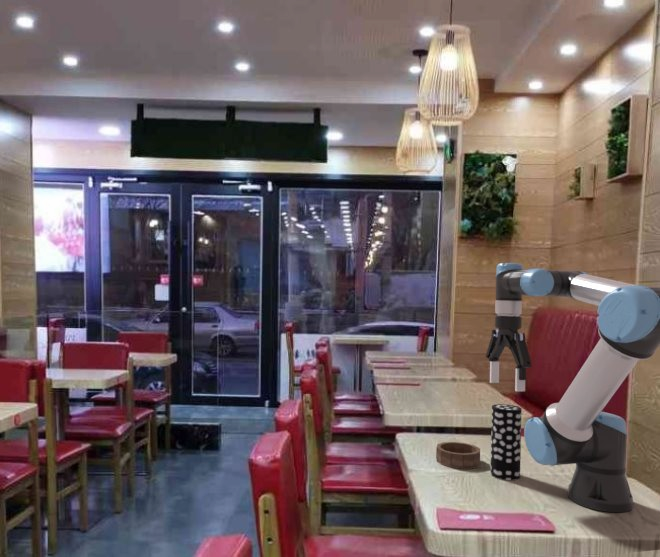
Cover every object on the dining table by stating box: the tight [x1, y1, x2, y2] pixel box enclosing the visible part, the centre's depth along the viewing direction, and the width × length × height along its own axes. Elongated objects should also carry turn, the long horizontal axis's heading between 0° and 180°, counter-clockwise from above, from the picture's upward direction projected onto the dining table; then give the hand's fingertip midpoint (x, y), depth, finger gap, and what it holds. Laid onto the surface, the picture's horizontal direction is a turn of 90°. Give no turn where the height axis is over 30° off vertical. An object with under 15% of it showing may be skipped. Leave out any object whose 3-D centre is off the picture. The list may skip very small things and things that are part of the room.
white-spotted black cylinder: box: [490, 403, 523, 481], centre depth 159 cm, size 8×8×20 cm
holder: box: [435, 441, 481, 470], centre depth 170 cm, size 13×13×4 cm
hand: (506, 386), depth 159 cm, fingers open, 13 cm apart
